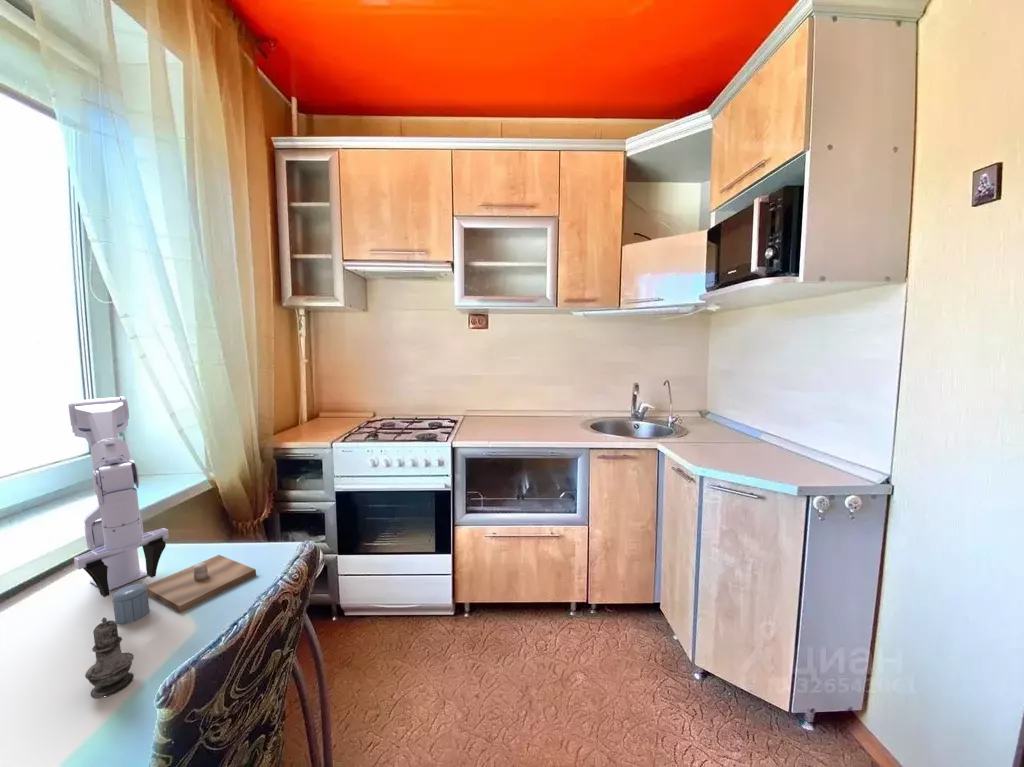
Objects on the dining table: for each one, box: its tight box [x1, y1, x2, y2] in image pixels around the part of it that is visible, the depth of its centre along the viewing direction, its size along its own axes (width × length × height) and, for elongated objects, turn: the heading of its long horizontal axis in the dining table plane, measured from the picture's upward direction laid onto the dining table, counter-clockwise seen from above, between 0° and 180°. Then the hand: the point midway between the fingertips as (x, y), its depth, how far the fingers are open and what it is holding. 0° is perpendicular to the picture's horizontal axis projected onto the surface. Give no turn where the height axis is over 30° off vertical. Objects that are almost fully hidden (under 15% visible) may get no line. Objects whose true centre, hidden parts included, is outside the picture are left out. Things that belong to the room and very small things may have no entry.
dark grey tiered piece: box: [84, 617, 135, 699], centre depth 70 cm, size 6×6×12 cm
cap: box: [112, 583, 150, 625], centre depth 89 cm, size 5×5×6 cm
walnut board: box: [146, 554, 257, 613], centre depth 100 cm, size 16×16×4 cm
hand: (129, 585), depth 88 cm, fingers open, 7 cm apart
